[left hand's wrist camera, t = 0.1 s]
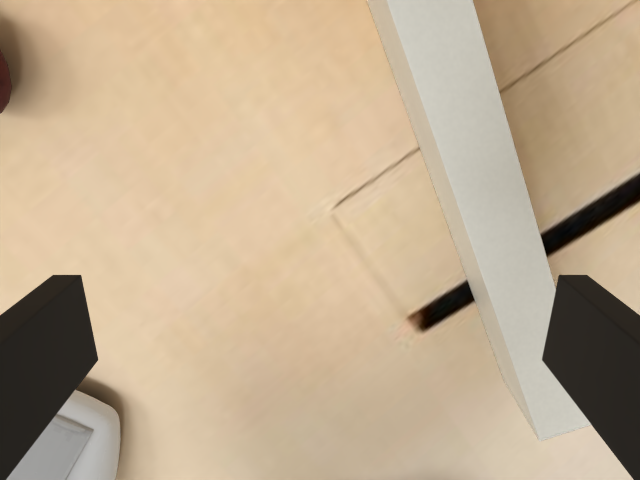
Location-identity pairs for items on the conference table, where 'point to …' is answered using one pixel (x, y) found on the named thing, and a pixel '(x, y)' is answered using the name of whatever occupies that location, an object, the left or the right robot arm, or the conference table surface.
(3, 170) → the conference table surface
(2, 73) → the dark maroon ball
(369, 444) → the conference table surface
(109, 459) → the projector
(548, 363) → the left robot arm
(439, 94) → the bar
